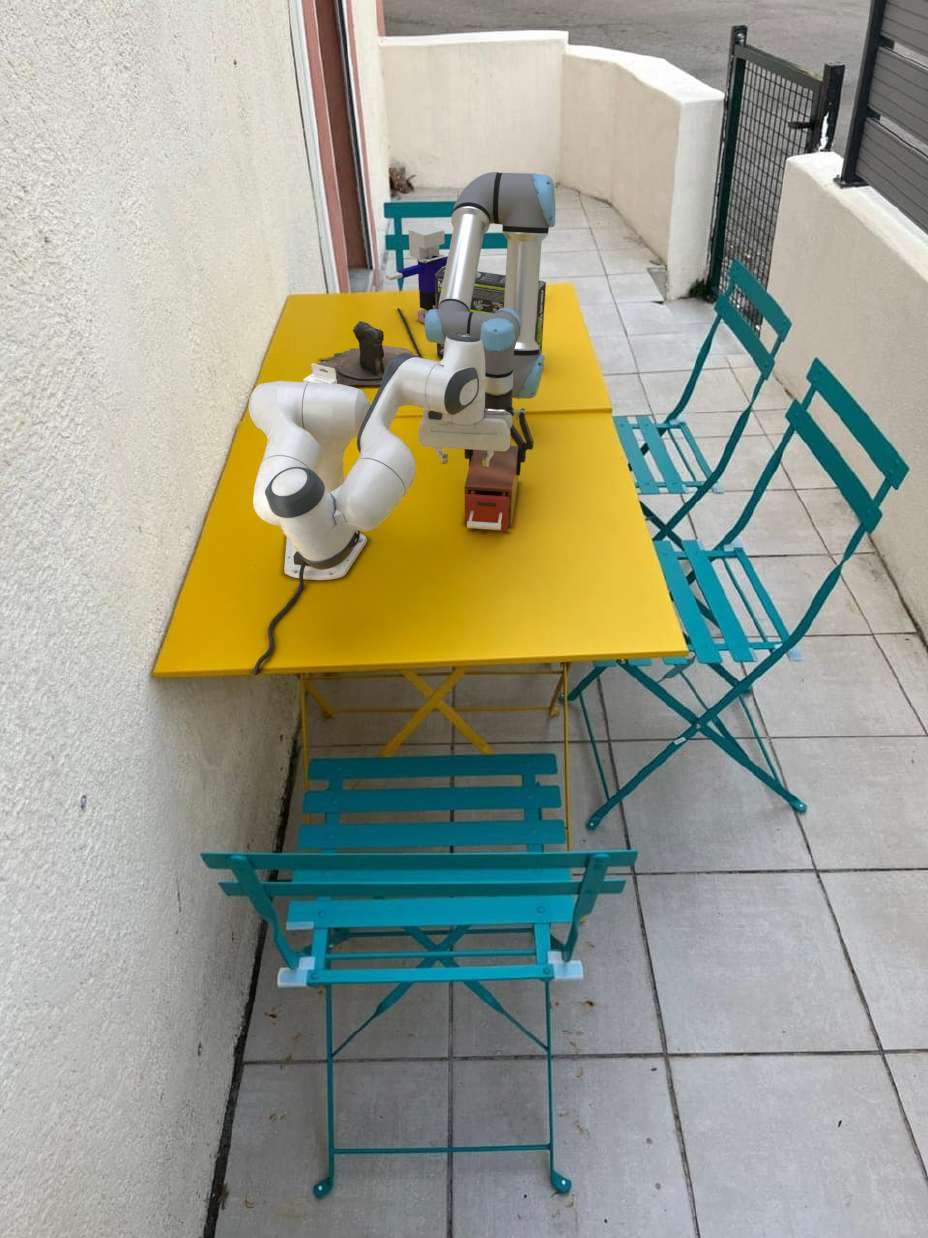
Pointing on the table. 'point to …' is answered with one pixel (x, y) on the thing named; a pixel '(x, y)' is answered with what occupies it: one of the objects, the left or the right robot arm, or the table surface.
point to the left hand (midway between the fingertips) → (464, 464)
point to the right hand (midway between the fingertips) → (494, 471)
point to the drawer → (487, 510)
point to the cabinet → (494, 475)
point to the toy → (424, 264)
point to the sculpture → (363, 358)
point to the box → (493, 300)
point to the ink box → (321, 375)
